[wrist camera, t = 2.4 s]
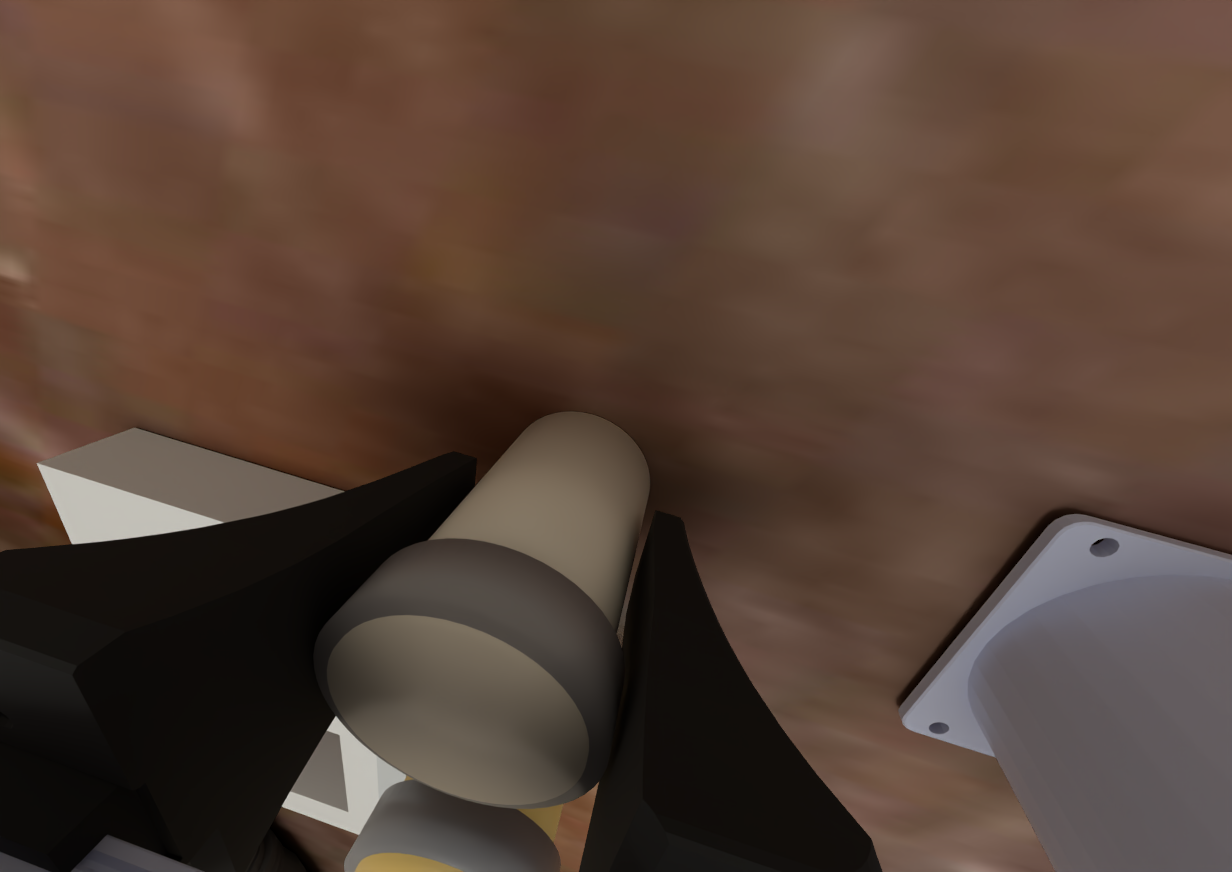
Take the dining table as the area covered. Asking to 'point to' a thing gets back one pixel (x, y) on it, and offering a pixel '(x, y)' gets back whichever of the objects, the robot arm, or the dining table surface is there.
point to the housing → (193, 498)
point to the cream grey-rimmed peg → (501, 626)
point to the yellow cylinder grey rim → (452, 835)
